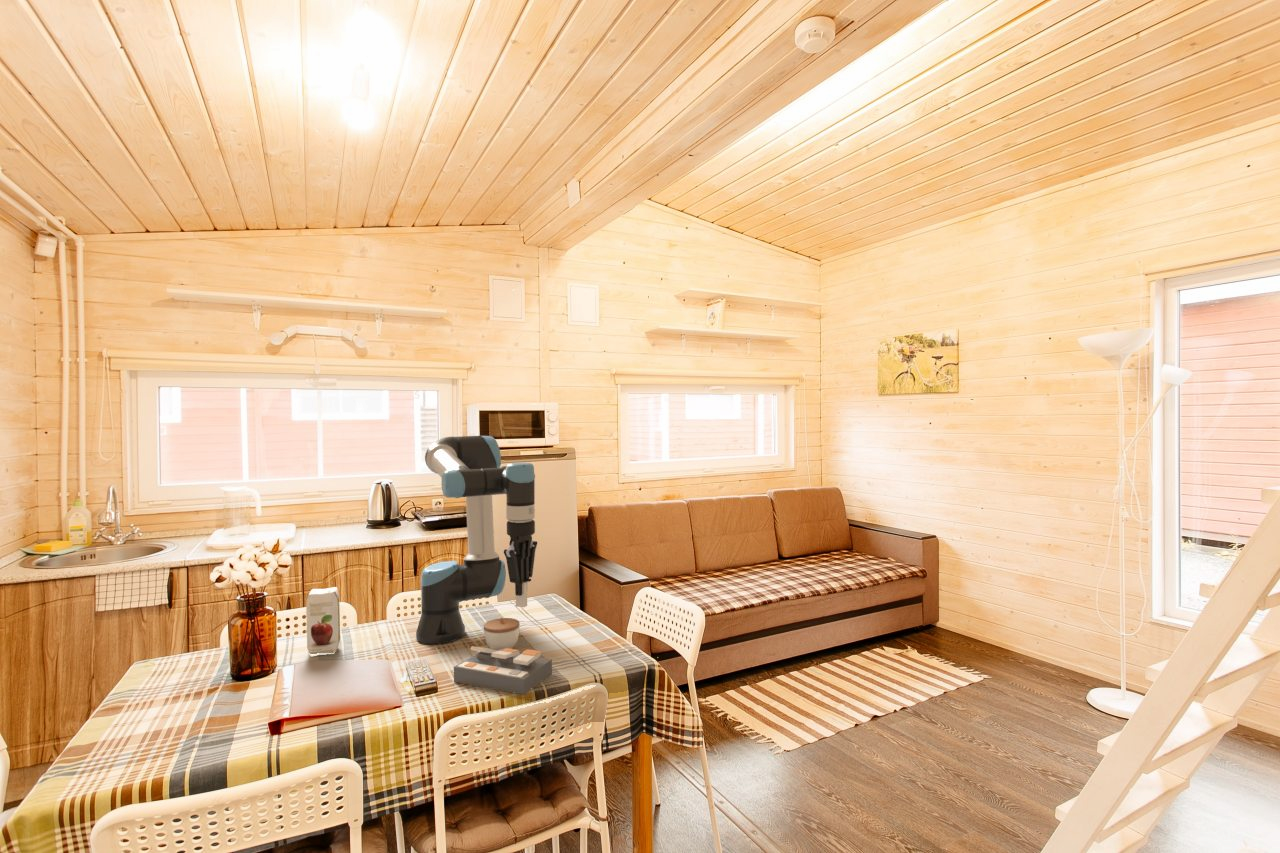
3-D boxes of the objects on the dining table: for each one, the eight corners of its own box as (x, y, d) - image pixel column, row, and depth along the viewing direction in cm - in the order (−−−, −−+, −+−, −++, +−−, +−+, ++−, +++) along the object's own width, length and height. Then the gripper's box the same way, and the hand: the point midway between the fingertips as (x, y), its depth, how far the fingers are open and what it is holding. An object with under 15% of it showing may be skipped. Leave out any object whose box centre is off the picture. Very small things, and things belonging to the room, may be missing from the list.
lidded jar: (526, 647, 193) (526, 617, 193) (497, 658, 185) (496, 626, 185) (506, 639, 200) (506, 610, 200) (477, 649, 192) (476, 618, 192)
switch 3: (513, 662, 167) (513, 658, 167) (527, 653, 173) (527, 649, 173) (527, 665, 165) (527, 661, 165) (541, 655, 171) (540, 651, 171)
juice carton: (310, 649, 193) (309, 588, 193) (341, 646, 196) (340, 585, 196) (306, 658, 186) (304, 595, 186) (337, 655, 189) (336, 592, 188)
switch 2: (491, 656, 170) (491, 652, 170) (505, 652, 176) (506, 647, 176) (505, 658, 168) (505, 654, 168) (519, 654, 174) (519, 650, 174)
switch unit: (453, 681, 169) (453, 662, 169) (485, 662, 182) (485, 644, 182) (523, 694, 160) (523, 674, 160) (551, 673, 173) (551, 655, 173)
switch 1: (470, 649, 173) (471, 645, 173) (484, 652, 178) (485, 647, 179) (483, 652, 171) (485, 647, 171) (497, 654, 177) (498, 650, 177)
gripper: (518, 525, 163) (519, 615, 164) (545, 516, 175) (546, 600, 176) (494, 523, 166) (495, 611, 167) (522, 515, 178) (523, 597, 179)
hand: (521, 605), depth 171 cm, fingers closed
